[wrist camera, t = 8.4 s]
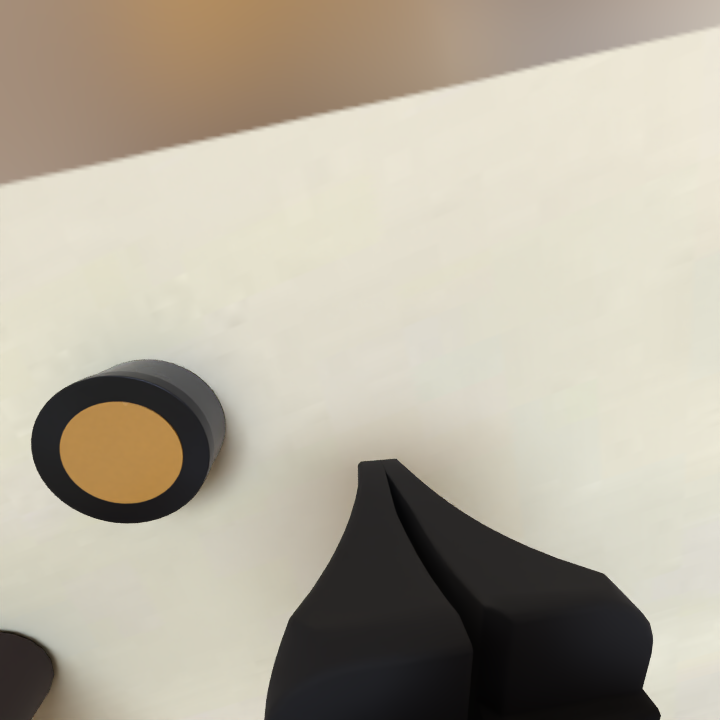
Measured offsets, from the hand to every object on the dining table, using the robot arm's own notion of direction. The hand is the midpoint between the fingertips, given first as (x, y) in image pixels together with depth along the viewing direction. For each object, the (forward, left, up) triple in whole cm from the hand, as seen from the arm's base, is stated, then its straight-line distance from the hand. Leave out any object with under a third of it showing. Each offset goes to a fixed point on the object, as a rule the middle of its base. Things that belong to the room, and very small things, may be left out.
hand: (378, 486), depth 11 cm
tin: (-1, +11, -9) cm, 14 cm away
